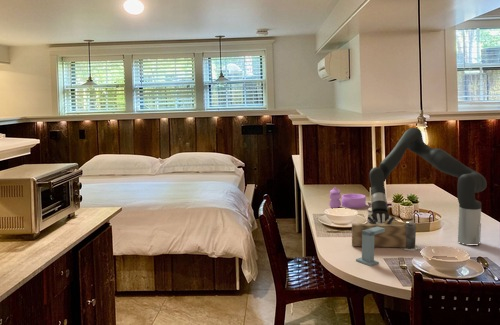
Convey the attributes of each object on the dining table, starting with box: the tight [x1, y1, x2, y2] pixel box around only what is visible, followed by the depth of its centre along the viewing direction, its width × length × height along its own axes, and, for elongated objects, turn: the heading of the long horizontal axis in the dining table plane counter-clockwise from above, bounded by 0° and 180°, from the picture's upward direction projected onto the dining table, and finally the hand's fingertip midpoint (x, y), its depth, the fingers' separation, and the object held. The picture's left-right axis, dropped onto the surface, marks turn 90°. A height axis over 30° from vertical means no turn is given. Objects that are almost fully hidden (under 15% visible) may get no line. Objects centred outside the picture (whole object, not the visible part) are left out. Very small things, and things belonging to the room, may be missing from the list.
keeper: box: [355, 226, 385, 267], centre depth 189 cm, size 12×8×14 cm
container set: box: [328, 186, 367, 209], centre depth 288 cm, size 25×15×13 cm, turn 108°
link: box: [351, 223, 417, 248], centre depth 207 cm, size 28×5×10 cm, turn 81°
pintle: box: [399, 220, 421, 252], centre depth 205 cm, size 9×9×12 cm
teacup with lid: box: [367, 206, 377, 224], centre depth 241 cm, size 12×9×12 cm
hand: (382, 235), depth 209 cm, fingers closed
